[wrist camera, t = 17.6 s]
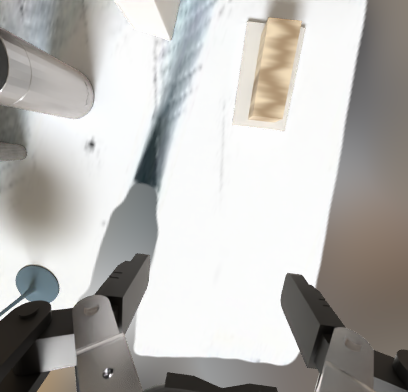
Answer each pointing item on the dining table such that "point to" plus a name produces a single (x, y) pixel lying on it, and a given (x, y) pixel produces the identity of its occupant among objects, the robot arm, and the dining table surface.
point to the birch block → (274, 69)
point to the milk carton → (151, 16)
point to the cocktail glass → (35, 285)
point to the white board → (248, 76)
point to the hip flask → (12, 152)
